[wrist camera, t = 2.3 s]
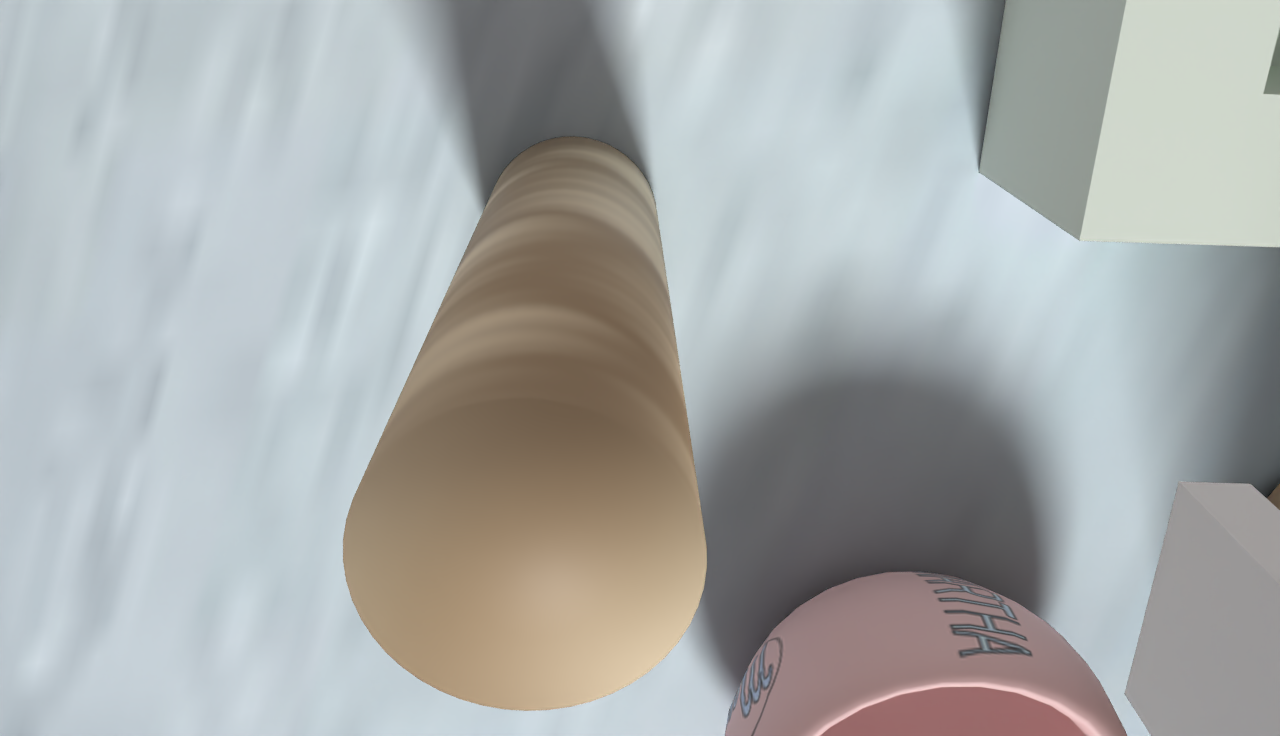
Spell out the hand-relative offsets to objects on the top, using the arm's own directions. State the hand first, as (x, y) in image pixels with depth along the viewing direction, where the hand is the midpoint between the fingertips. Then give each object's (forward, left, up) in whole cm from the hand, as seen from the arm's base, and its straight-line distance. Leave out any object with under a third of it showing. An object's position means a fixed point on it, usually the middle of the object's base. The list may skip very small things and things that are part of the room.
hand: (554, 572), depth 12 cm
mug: (+9, -14, -16) cm, 23 cm away
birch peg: (0, 0, -15) cm, 15 cm away
